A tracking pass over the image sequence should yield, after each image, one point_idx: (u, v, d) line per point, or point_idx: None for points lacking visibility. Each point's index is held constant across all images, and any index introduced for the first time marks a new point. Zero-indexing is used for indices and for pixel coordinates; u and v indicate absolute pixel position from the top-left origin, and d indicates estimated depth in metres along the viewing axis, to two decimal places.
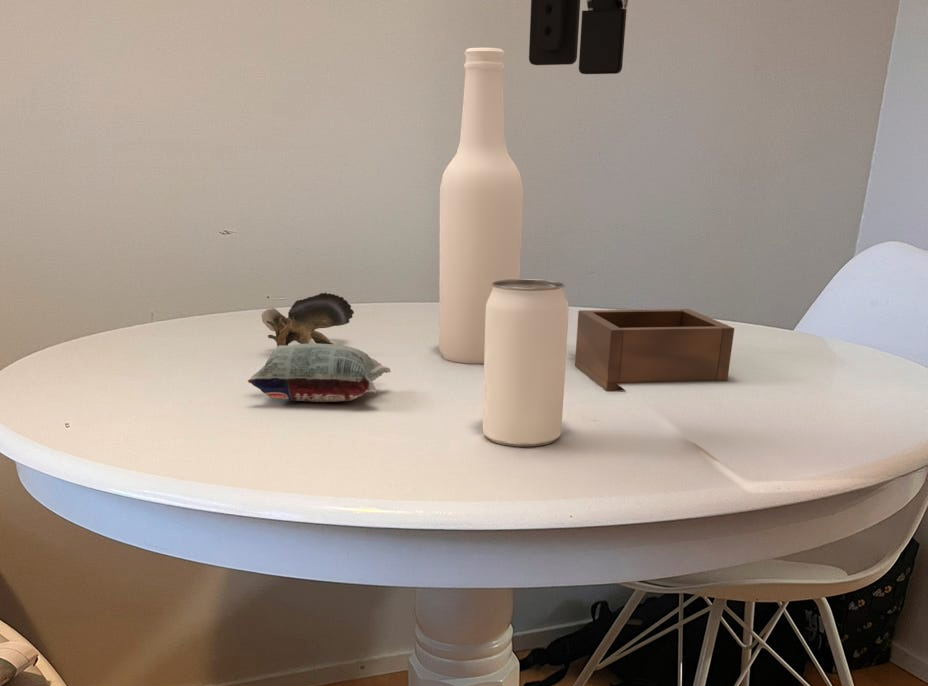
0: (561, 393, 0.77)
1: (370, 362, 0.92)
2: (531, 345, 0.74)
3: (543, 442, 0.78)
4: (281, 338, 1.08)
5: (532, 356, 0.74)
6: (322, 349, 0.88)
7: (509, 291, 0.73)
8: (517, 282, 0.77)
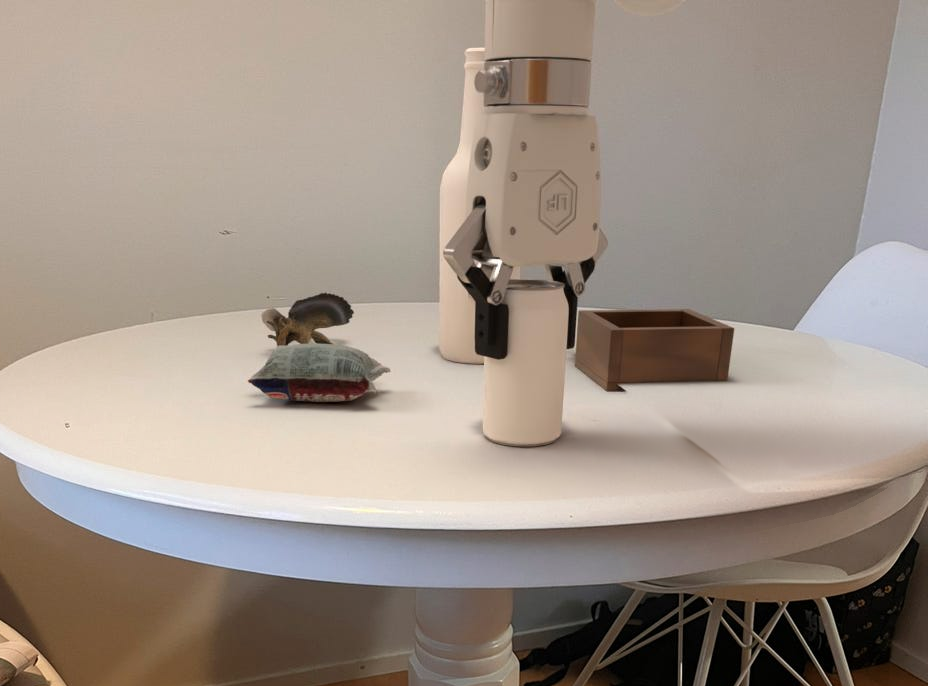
0: (561, 393, 0.77)
1: (370, 362, 0.92)
2: (531, 345, 0.74)
3: (543, 442, 0.78)
4: (281, 338, 1.08)
5: (532, 357, 0.74)
6: (322, 349, 0.88)
7: (509, 291, 0.73)
8: (517, 282, 0.77)
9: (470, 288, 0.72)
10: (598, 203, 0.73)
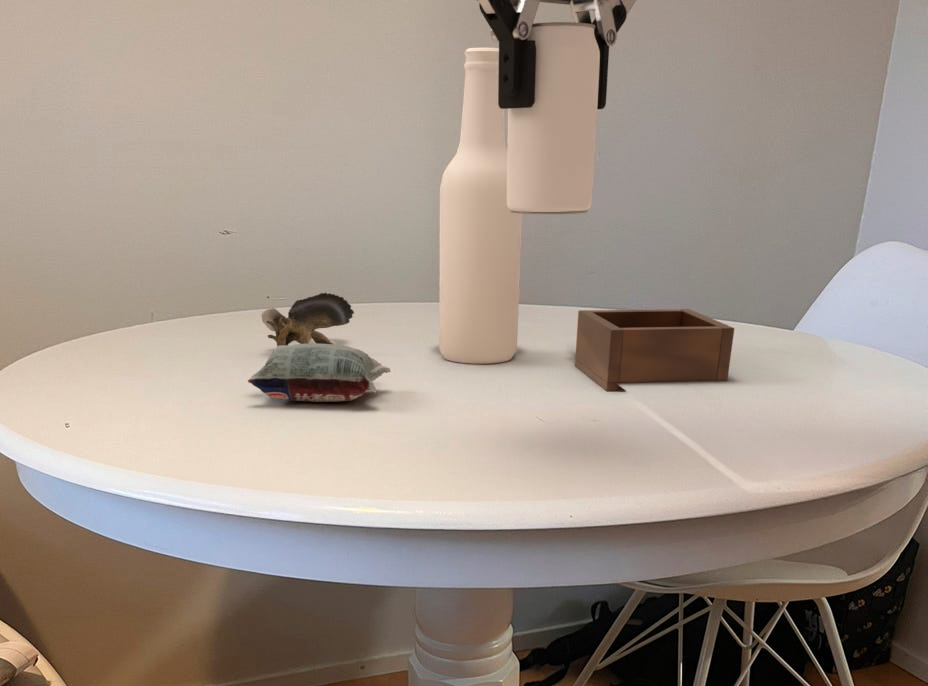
0: (592, 154, 0.71)
1: (370, 362, 0.92)
2: (560, 90, 0.68)
3: (573, 209, 0.72)
4: (281, 338, 1.08)
5: (561, 104, 0.68)
6: (322, 349, 0.88)
7: (536, 29, 0.67)
8: None
9: (494, 21, 0.66)
10: None
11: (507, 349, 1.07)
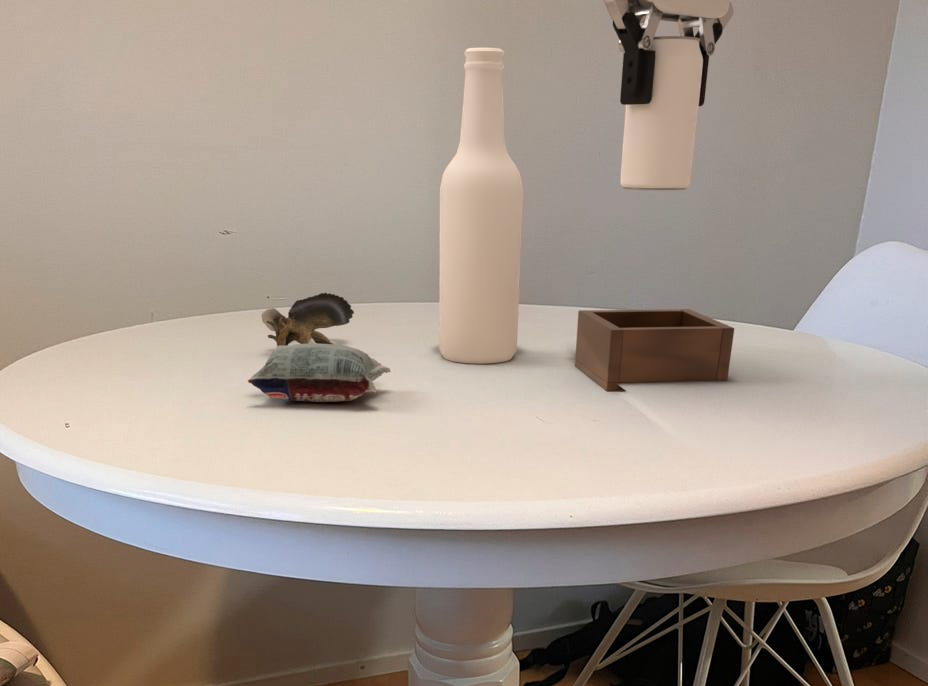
0: (693, 142, 0.88)
1: (370, 362, 0.92)
2: (672, 90, 0.85)
3: (677, 186, 0.89)
4: (281, 338, 1.08)
5: (672, 101, 0.85)
6: (322, 349, 0.88)
7: (655, 41, 0.84)
8: None
9: (623, 34, 0.83)
10: None
11: (507, 349, 1.07)
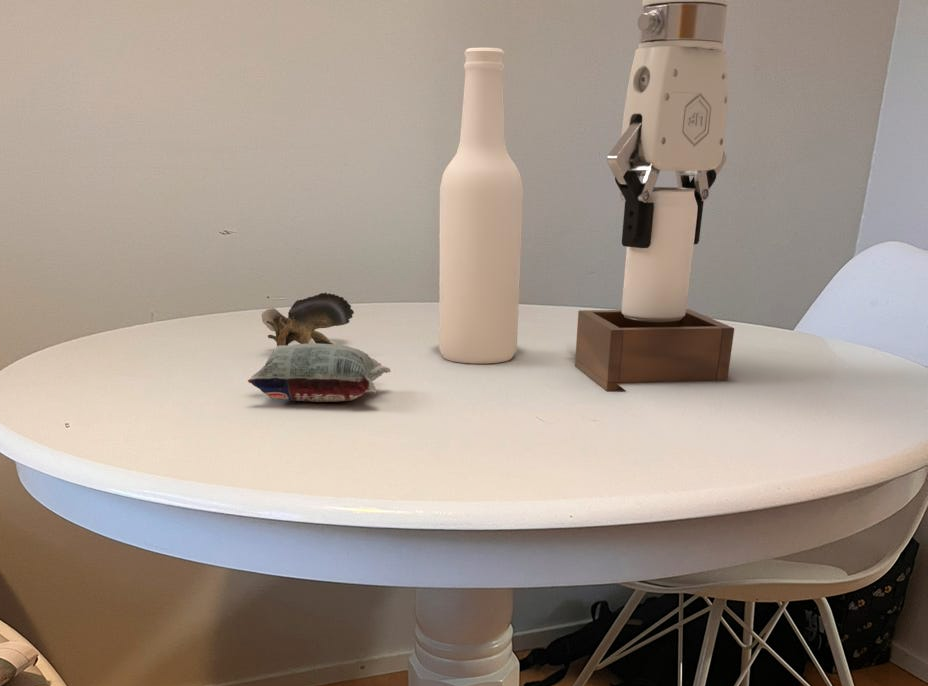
0: (688, 278, 0.96)
1: (370, 362, 0.92)
2: (669, 236, 0.93)
3: (673, 319, 0.97)
4: (281, 338, 1.08)
5: (669, 246, 0.93)
6: (322, 349, 0.88)
7: (653, 192, 0.92)
8: None
9: (625, 189, 0.91)
10: (724, 122, 0.92)
11: (507, 349, 1.07)
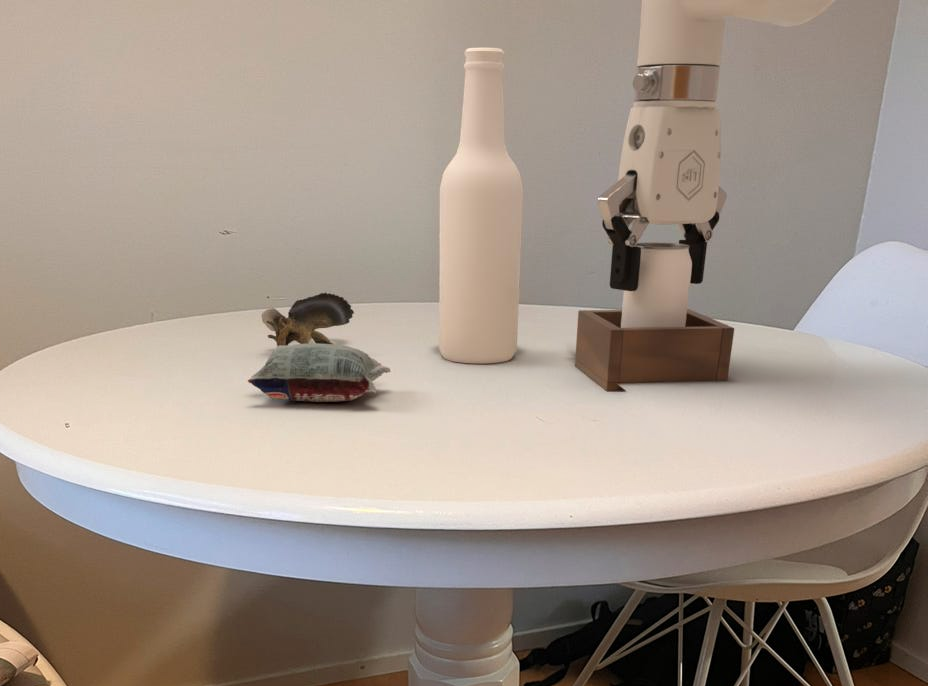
0: None
1: (370, 362, 0.92)
2: (664, 292, 0.95)
3: None
4: (281, 338, 1.08)
5: (664, 301, 0.96)
6: (322, 349, 0.88)
7: (649, 250, 0.94)
8: (649, 245, 0.99)
9: (612, 233, 0.92)
10: (718, 176, 0.94)
11: (507, 349, 1.07)
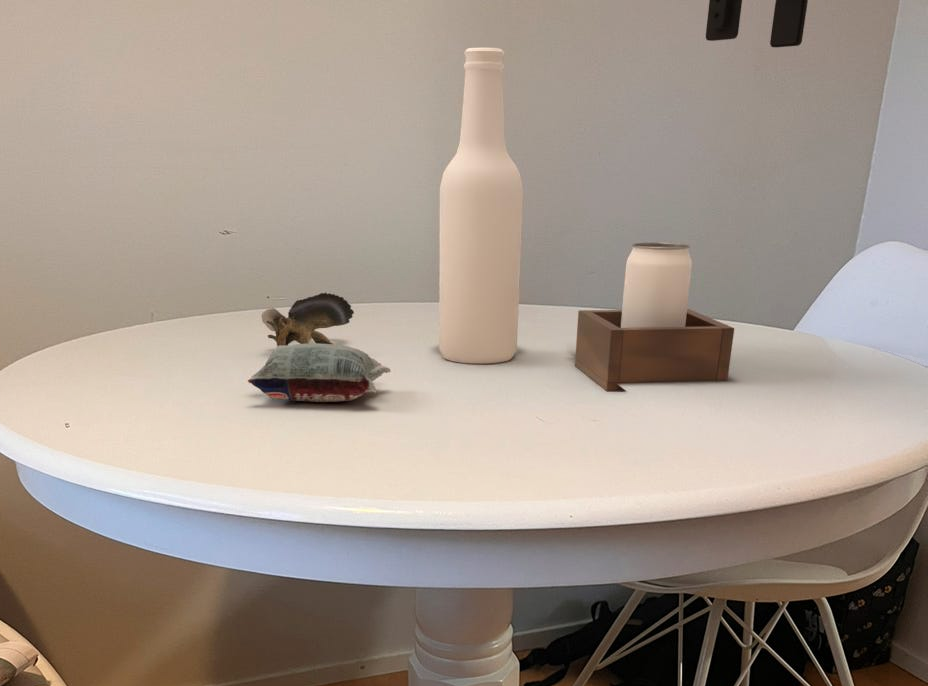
0: None
1: (370, 362, 0.92)
2: (664, 292, 0.95)
3: None
4: (281, 338, 1.08)
5: (664, 301, 0.96)
6: (322, 349, 0.88)
7: (649, 250, 0.94)
8: (649, 245, 0.99)
9: None
10: None
11: (507, 349, 1.07)
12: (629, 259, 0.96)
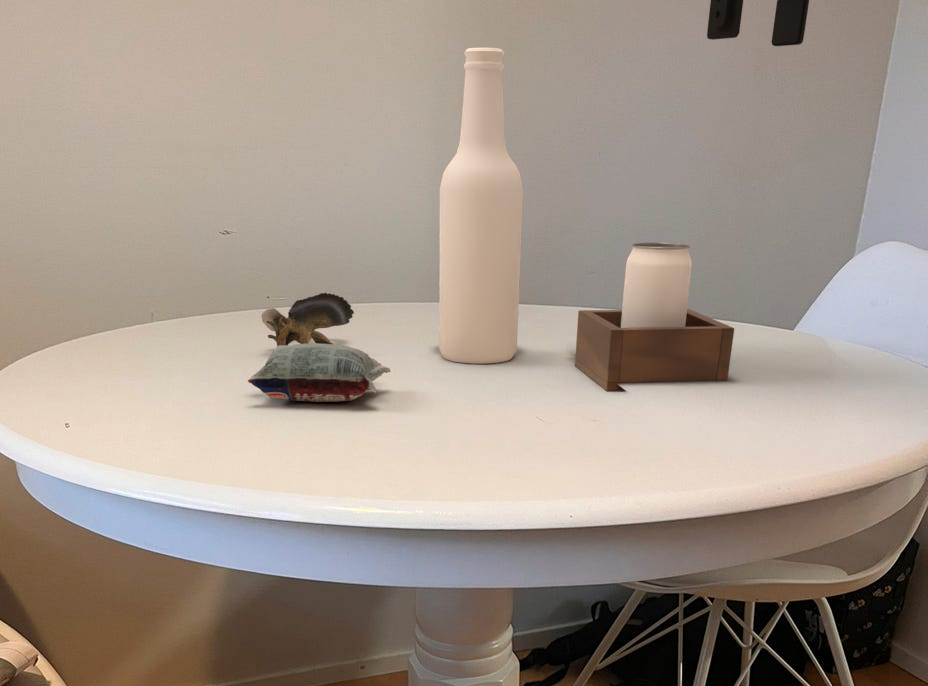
0: None
1: (370, 362, 0.92)
2: (664, 292, 0.95)
3: None
4: (281, 338, 1.08)
5: (664, 301, 0.96)
6: (322, 349, 0.88)
7: (649, 250, 0.94)
8: (649, 245, 0.99)
9: None
10: None
11: (507, 349, 1.07)
12: (629, 259, 0.96)
